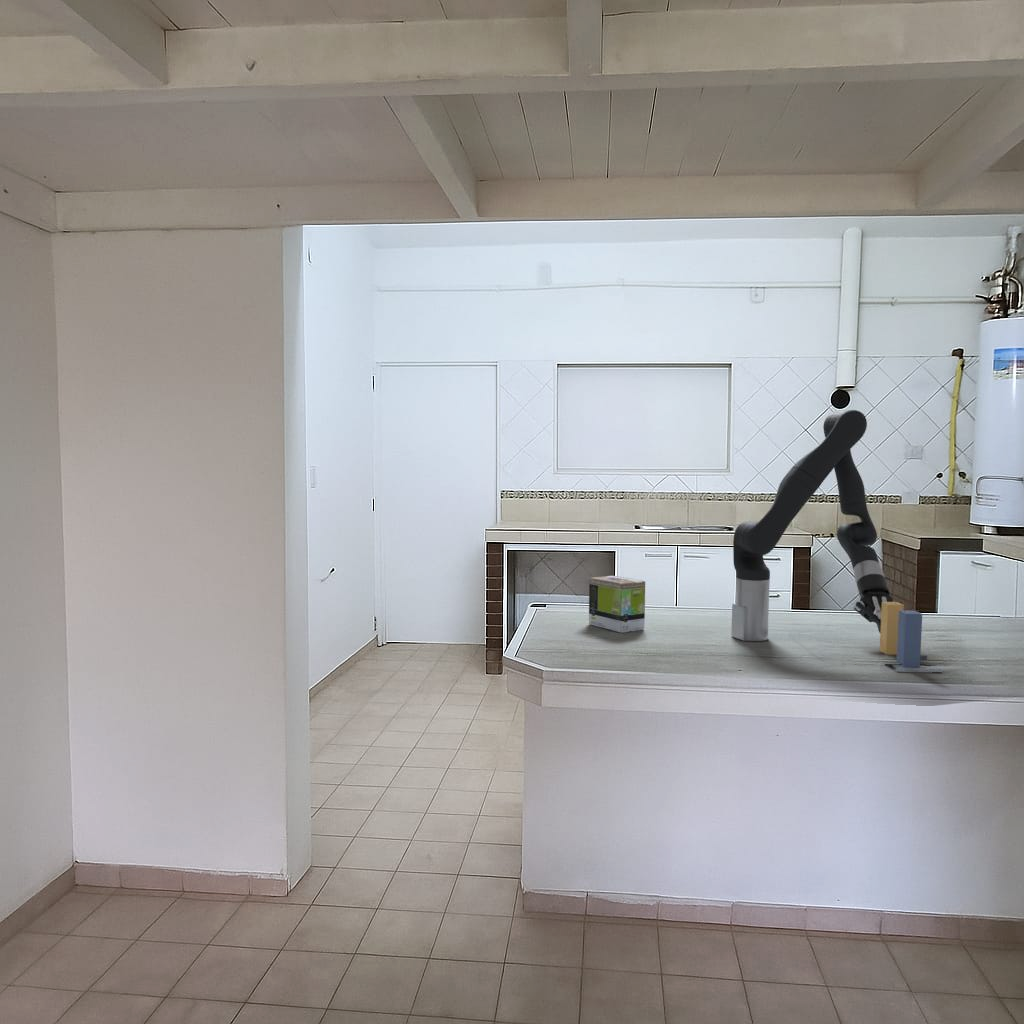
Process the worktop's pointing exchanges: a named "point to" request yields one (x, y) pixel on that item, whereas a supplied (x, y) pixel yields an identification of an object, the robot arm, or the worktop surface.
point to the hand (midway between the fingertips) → (886, 634)
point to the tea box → (617, 603)
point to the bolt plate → (914, 668)
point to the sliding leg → (889, 627)
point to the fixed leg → (909, 638)
